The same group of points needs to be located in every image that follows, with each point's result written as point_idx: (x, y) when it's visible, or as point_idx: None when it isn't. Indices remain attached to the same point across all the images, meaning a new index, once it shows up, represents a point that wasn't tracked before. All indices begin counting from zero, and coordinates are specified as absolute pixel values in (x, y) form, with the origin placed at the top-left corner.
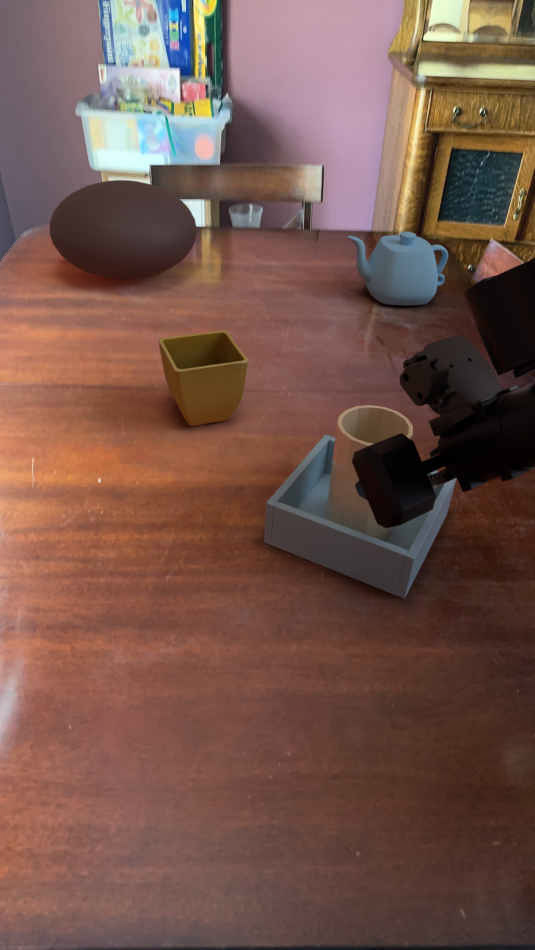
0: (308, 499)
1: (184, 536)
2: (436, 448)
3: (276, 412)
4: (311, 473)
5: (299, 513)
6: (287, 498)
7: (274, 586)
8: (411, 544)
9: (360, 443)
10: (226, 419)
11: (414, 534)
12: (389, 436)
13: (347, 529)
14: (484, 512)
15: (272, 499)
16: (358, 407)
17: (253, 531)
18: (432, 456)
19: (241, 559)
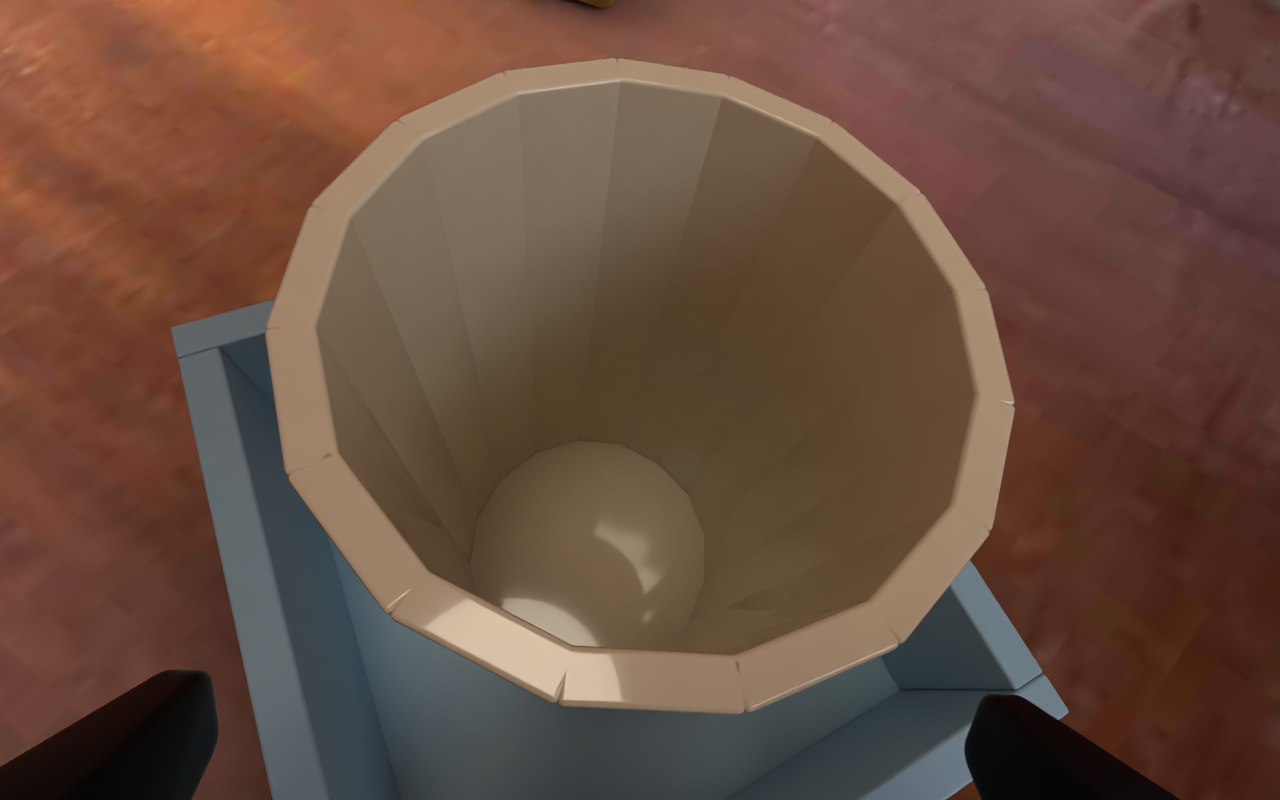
0: None
1: (105, 260)
2: (1057, 763)
3: (748, 55)
4: None
5: (213, 463)
6: None
7: (100, 614)
8: (680, 775)
9: (281, 428)
10: (599, 4)
11: (730, 735)
12: (836, 391)
13: (283, 702)
14: None
15: (213, 326)
16: (722, 88)
17: None
18: (986, 736)
19: (141, 438)
